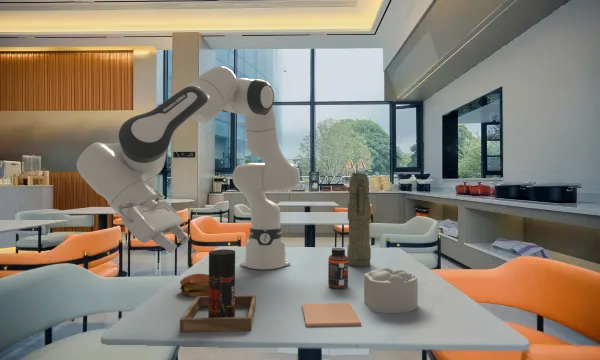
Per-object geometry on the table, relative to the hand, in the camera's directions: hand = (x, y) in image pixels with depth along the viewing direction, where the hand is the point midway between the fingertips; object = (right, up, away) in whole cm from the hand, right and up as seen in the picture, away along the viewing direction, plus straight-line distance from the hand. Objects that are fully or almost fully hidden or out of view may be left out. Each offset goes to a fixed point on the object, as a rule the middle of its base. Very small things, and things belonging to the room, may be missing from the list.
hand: (180, 245), depth 76 cm
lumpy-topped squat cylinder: (+51, -17, +9) cm, 54 cm away
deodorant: (+9, -17, 0) cm, 19 cm away
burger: (-2, -17, +18) cm, 25 cm away
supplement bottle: (+39, -17, +24) cm, 49 cm away
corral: (+9, -17, 0) cm, 19 cm away
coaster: (+34, -17, +2) cm, 38 cm away
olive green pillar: (+50, -18, +52) cm, 74 cm away
